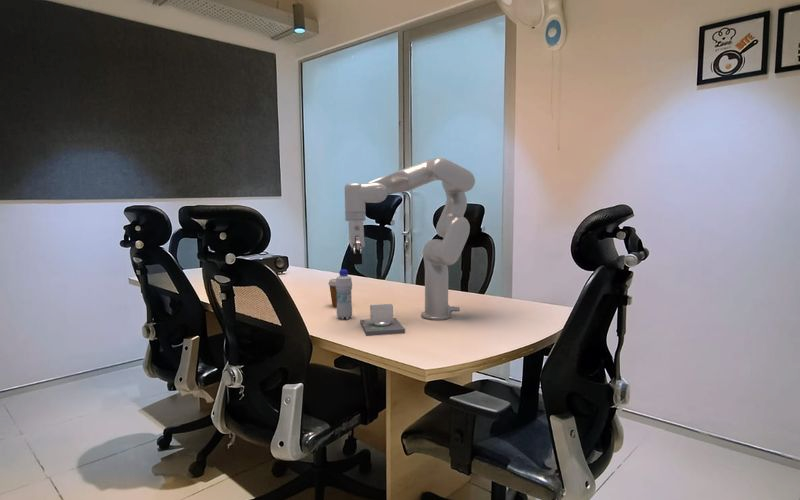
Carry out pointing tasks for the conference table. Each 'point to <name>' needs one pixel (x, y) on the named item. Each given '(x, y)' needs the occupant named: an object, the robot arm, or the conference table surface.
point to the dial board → (382, 328)
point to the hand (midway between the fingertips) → (356, 262)
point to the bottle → (344, 295)
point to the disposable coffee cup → (333, 292)
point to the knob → (380, 315)
